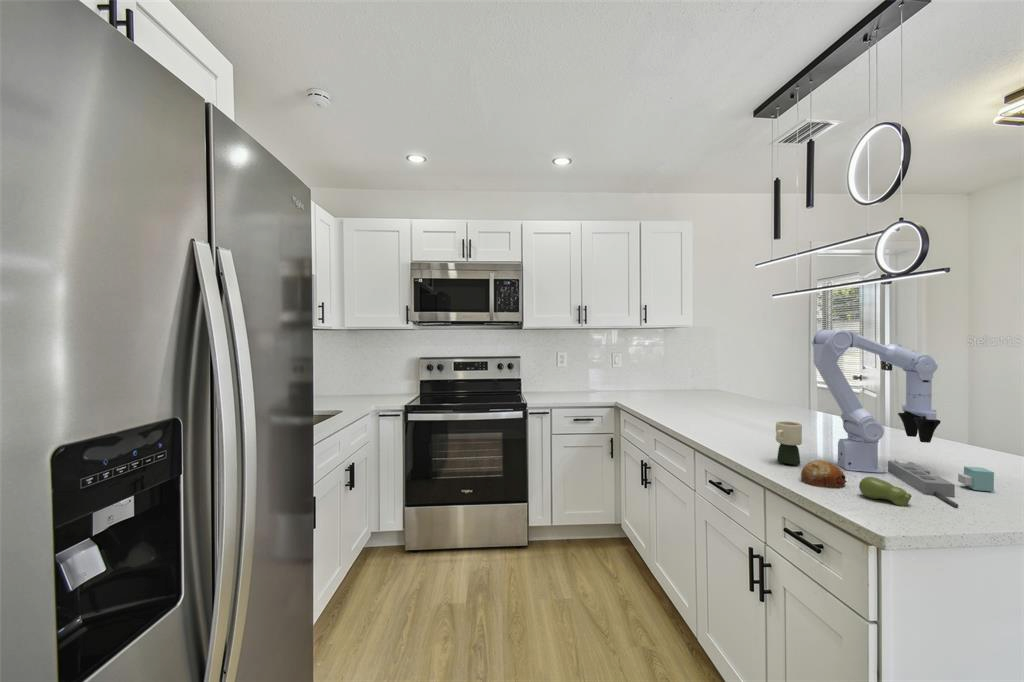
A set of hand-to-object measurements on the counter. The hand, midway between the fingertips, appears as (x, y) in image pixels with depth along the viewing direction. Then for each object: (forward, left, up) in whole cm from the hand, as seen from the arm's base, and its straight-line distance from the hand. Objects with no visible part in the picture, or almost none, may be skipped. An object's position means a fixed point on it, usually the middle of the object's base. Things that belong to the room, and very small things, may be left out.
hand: (918, 439), depth 134 cm
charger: (+6, -15, -9) cm, 19 cm away
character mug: (-35, -4, -10) cm, 37 cm away
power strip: (-6, -18, -9) cm, 21 cm away
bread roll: (-30, -21, -10) cm, 38 cm away
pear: (-21, -32, -10) cm, 39 cm away
